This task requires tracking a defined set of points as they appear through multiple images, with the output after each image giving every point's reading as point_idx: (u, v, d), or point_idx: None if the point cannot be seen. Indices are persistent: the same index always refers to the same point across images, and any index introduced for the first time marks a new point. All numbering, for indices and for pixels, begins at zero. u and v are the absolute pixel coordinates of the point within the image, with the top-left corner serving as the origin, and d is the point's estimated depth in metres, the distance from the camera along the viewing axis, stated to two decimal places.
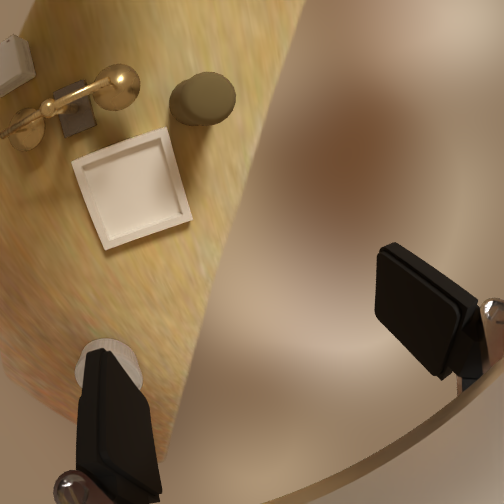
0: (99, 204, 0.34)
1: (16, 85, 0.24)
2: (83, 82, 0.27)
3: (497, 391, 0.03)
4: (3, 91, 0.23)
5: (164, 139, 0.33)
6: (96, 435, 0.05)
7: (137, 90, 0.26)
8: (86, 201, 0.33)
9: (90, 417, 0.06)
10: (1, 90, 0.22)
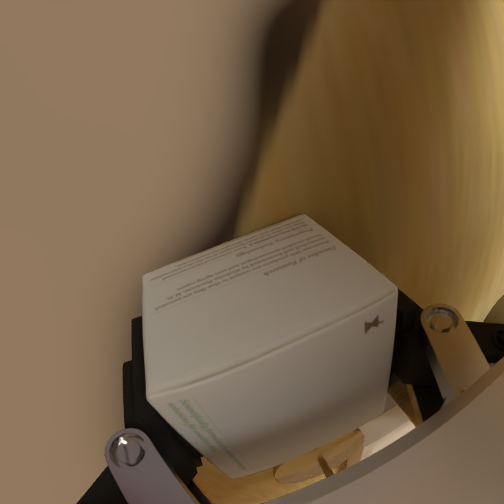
0: None
1: None
2: None
3: (497, 391, 0.03)
4: None
5: None
6: None
7: None
8: None
9: (144, 375, 0.07)
10: None
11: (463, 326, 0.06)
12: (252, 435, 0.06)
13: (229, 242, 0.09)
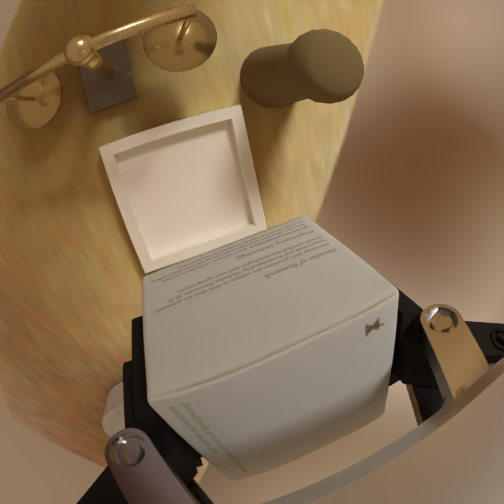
0: (138, 209, 0.26)
1: None
2: None
3: (497, 391, 0.03)
4: None
5: (237, 121, 0.24)
6: None
7: (212, 45, 0.17)
8: (120, 205, 0.24)
9: (144, 375, 0.07)
10: None
11: (463, 326, 0.06)
12: (253, 437, 0.06)
13: (229, 244, 0.09)
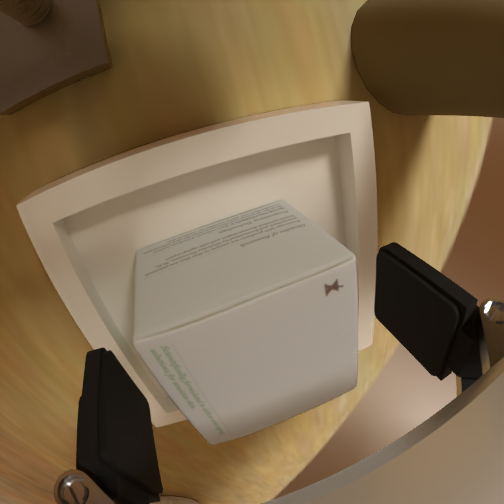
0: (129, 331, 0.11)
1: None
2: None
3: (497, 391, 0.03)
4: None
5: (359, 141, 0.10)
6: (96, 435, 0.05)
7: None
8: (88, 334, 0.10)
9: (90, 417, 0.06)
10: None
11: None
12: (227, 392, 0.07)
13: (214, 222, 0.10)
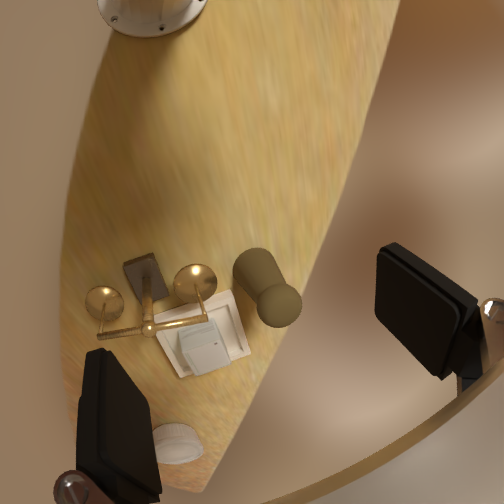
0: (174, 348, 0.44)
1: None
2: (153, 259, 0.36)
3: (497, 391, 0.03)
4: None
5: (231, 305, 0.42)
6: (96, 435, 0.05)
7: (215, 287, 0.35)
8: (165, 349, 0.42)
9: (90, 417, 0.06)
10: None
11: None
12: (198, 361, 0.40)
13: (196, 324, 0.43)
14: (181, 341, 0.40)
